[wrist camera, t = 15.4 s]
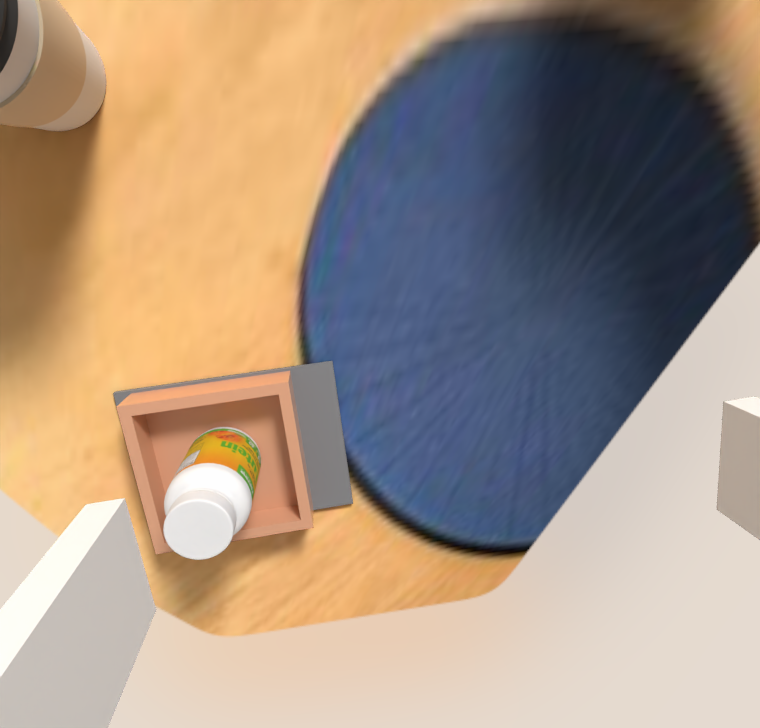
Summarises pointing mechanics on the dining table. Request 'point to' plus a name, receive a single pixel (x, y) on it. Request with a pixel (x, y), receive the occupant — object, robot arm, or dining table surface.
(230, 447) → the supplement bottle
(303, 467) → the dish
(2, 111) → the coffee cup
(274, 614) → the dining table surface
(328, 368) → the mat
